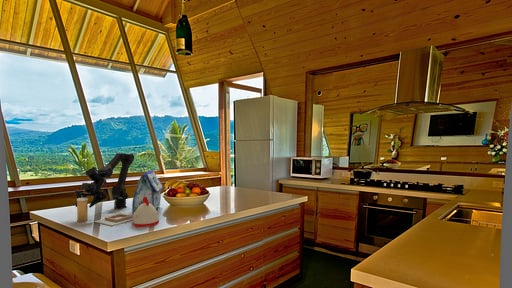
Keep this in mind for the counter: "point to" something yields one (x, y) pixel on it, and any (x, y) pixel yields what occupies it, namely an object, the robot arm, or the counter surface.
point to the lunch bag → (147, 190)
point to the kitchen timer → (145, 215)
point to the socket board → (115, 219)
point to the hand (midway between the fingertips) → (82, 207)
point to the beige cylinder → (82, 209)
